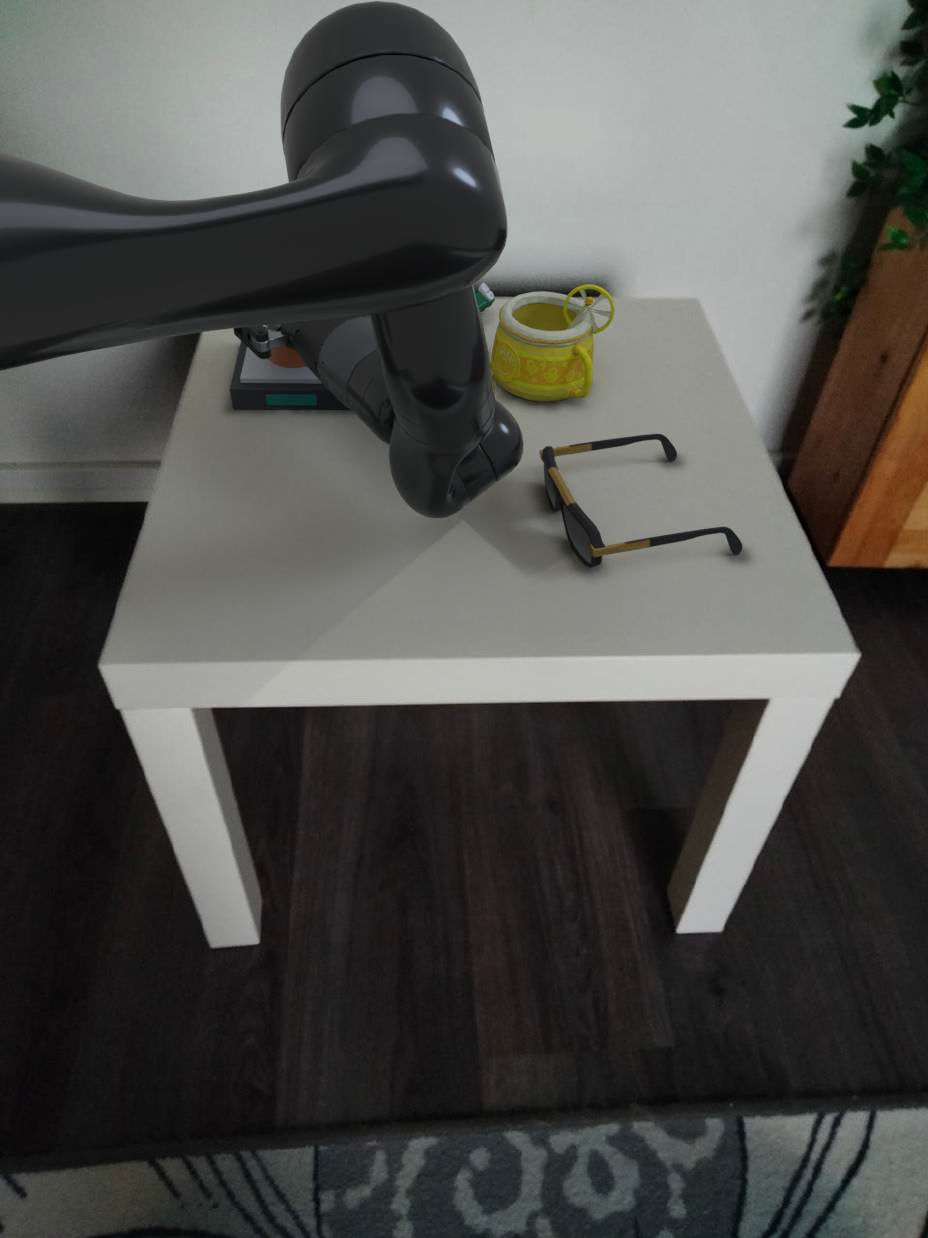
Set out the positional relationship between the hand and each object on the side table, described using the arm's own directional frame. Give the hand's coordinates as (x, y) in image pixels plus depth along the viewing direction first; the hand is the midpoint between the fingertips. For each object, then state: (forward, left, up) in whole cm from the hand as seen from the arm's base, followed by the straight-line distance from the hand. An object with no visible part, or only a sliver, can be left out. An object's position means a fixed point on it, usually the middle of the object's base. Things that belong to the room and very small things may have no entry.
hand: (280, 282), depth 89 cm
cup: (0, -1, -7) cm, 7 cm away
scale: (0, -1, -10) cm, 10 cm away
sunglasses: (+3, -40, -10) cm, 42 cm away
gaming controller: (+20, -7, -10) cm, 23 cm away
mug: (+16, -22, -10) cm, 29 cm away
